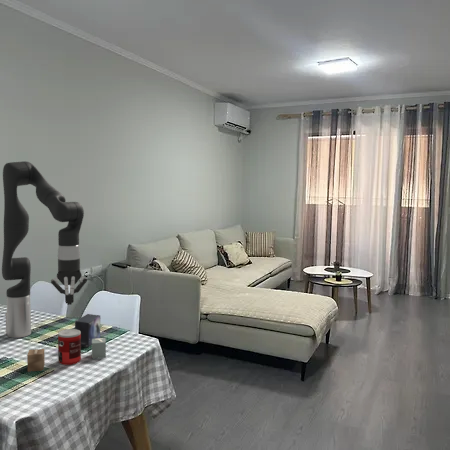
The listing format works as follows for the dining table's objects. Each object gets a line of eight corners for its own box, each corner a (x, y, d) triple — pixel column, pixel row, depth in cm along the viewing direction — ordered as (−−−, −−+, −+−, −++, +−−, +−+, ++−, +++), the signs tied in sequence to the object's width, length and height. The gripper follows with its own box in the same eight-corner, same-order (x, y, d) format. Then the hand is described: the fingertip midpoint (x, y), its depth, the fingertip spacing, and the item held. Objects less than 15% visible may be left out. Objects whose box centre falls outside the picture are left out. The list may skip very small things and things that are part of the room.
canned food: (61, 357, 169) (61, 328, 168) (83, 356, 170) (82, 328, 169) (55, 365, 161) (55, 336, 160) (78, 365, 162) (78, 335, 161)
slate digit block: (92, 358, 168) (91, 343, 168) (92, 353, 173) (92, 338, 172) (105, 357, 170) (105, 341, 169) (105, 352, 174) (105, 337, 174)
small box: (88, 347, 179) (88, 322, 178) (74, 346, 180) (73, 321, 179) (101, 338, 189) (101, 314, 188) (87, 337, 191) (87, 313, 189)
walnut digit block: (27, 371, 156) (27, 354, 155) (29, 366, 161) (29, 349, 160) (43, 370, 157) (42, 353, 157) (44, 364, 162) (44, 348, 161)
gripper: (49, 259, 156) (50, 308, 158) (88, 258, 161) (89, 305, 162) (49, 256, 163) (50, 302, 165) (87, 254, 167) (87, 300, 169)
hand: (69, 304), depth 163 cm, fingers closed
